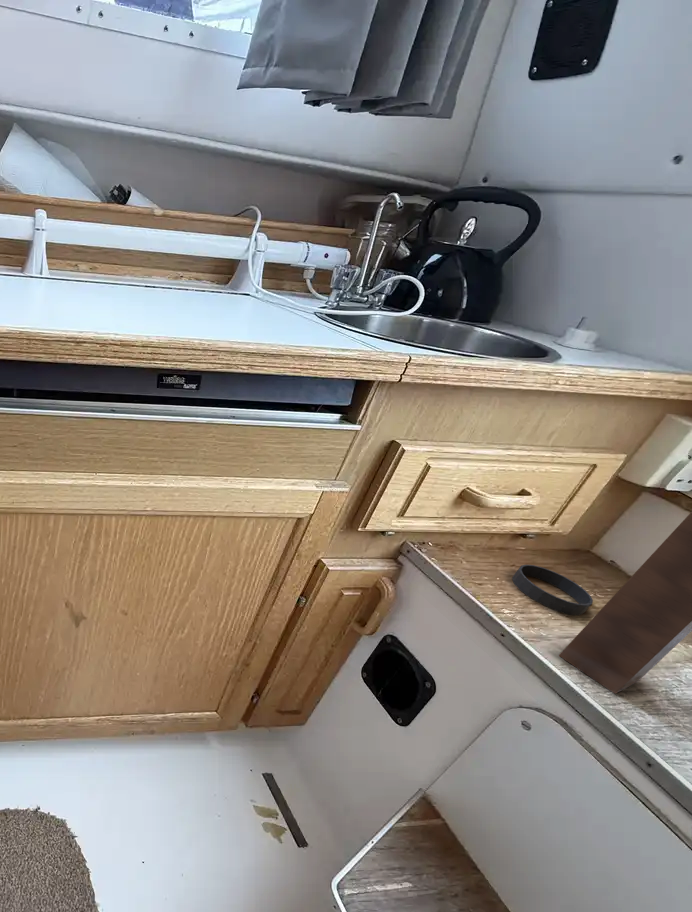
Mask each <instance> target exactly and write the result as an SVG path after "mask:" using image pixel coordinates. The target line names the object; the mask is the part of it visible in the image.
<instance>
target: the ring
mask: <svg viewBox="0 0 692 912" xmlns="http://www.w3.org/2000/svg"><path fill="white" fill-rule="evenodd" d="M527 577H531V578H536V579H539V580H541V581H544V582H545V583H547V584H550V585H552V586H554V587H556V588H558V589H560V590H561V591H563V592H565V593H566V594H568V595H569V596H570V597H572V598H573V600H575V601H576V602H577V603H576V602H574V601H573V602H572V601H568V600H566V599H563V598H560V597H558V596H556V595H554V594H552V593H550V592H548V591H546V590H544V589H542V588H541V587H539V586H537V585H536V584H535V583H533V582H532V581H531V580H530V579H529V578H527ZM511 579H512V582H513V584H514V585H515V586H516V588H517V589H518V590H520V591H521V592H522V593H523V594H524V595H525V596H528V597H529V598H530V599H532V600H533V601H535V602H537V603H538V604H541V605H543V606H544V607H546V608H548V609H551V610H554V611H556V612H559V613H562V614H565V615H569V616H581V615H583V614H585V613H586V612H587V610H588V609H589V608H590V607H591V606H592V605H593V603H594V599H593V597H592V595H591V594H590V593H589V592H588V591H587V590H585V589H584V588H583V586H581V585H579V584H578V583H577V582H575V581H573V580H572V579H570V578H568V577H566V576H564V575H562V574H561V573H558V572H556V571H554V570H552V569H551V570H550V569H549V568H546V567H543V566H538V565H534V564H522V565H520V566H519V567H518V569H517V570H516V571H515V573H514V574H513V575H512V577H511Z"/></svg>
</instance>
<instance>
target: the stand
mask: <svg viewBox="0 0 692 912" xmlns="http://www.w3.org/2000/svg"><path fill="white" fill-rule="evenodd" d="M691 632H692V511H691V512H690V513H689V514H687V516H686V517H685V518H684V519H683V520H682V521H681V522H680V523H679V525H678V526H677V527H675V529H674V530H673V531H672V532H671V533H670V534H669V535H668V537H666V539H664V541H663V542H661V544H660V545H659V546H658V547H657V548H656V549H655V551H654V552H653V553H652V554H651V555H650V556H649V557H648V558H647V559H646V560H645V561H644V562H643V563H642V565H641V566H640V567H639V568H638V569H637V570H636V571H635V572H634V574H632V575H631V576H630V577H629V579H628V580H627V581H626V582H625V583H624V584H623V585H622V586H621V587H620V588H619V589H618V591H616V593H614V595H612V597H611V598H610V599H609V600H608V601H607V602H606V603H605V604H604V606H603V607H602V608H601V609H600V610H599V611H598V612H597V613H596V614H595V615H594V616H593V617H592V618H591V619H590V620H589V621H588V622H587V624H586V625H585V626H584V627H583V628H582V629H581V631H580V632H579V633H578V634H577V635H575V637H574V638H572V640H571V641H570V642H569V643H568V644H567V646H566V647H565V648H564V649H563V650H562V651H561V652H560V653H559V654H558V656H559V657H560V658H561V659H563V660H564V661H566V662H567V663H569V664H570V665H571V666H574V667H575V668H576V669H578V670H579V671H580V672H582V673H584V674H585V675H587V677H589V678H591V679H592V680H594V681H595V682H597V683H598V684H600V685H601V686H603V688H606V689H607V690H609V691H610V692H612V693H613V694H615V695H616V694H618V693H619V692H621V691H623V690H626V689H627V688H628V687H631V686H632V685H634V684H637V683H638V682H639V681H640V680H641V679H642V678H643V677H644V676H646V675H647V673H648V672H650V670H652V669H653V668H654V667H655V666H656V665H657V664H659V662H660V661H661V660H662V659H663V658H665V657H666V656H667V655H668V654H669V653H670V652H671V651H672V650H673V649H674V648H676V646H677V645H679V644H680V643H681V642H682V640H684V639H685V638H686V637H687V636H688V635H689V634H690V633H691Z"/></svg>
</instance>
